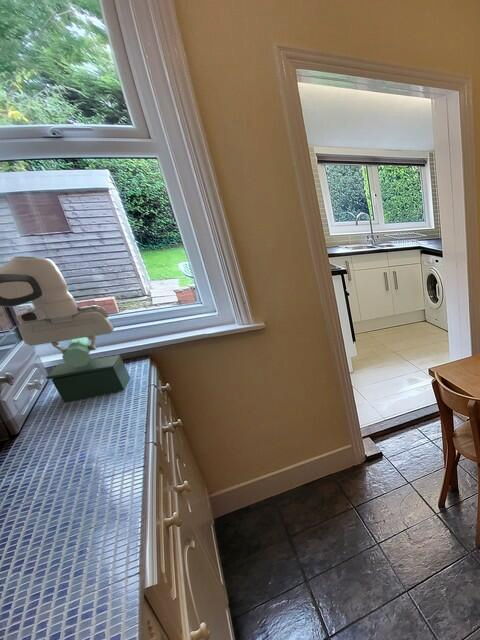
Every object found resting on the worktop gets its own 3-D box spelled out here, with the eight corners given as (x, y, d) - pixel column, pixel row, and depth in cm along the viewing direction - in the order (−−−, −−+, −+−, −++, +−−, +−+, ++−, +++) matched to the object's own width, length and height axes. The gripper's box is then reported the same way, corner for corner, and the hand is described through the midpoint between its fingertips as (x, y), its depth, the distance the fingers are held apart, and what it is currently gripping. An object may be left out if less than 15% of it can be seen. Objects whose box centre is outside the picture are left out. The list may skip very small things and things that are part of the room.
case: (64, 402, 129) (51, 380, 126) (74, 388, 139) (63, 367, 136) (124, 390, 136) (113, 368, 133) (130, 377, 146) (120, 357, 143)
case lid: (47, 379, 125) (45, 376, 125) (59, 366, 135) (58, 364, 135) (113, 368, 133) (112, 365, 133) (120, 356, 143) (119, 354, 143)
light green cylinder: (68, 332, 138) (62, 347, 121) (93, 334, 142) (91, 349, 125) (67, 349, 139) (61, 366, 121) (92, 351, 143) (89, 368, 126)
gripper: (104, 302, 134) (123, 342, 140) (15, 314, 124) (39, 356, 129) (101, 305, 129) (120, 347, 135) (7, 318, 119) (33, 362, 125)
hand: (80, 352), depth 132 cm, fingers closed on light green cylinder, 5 cm apart
